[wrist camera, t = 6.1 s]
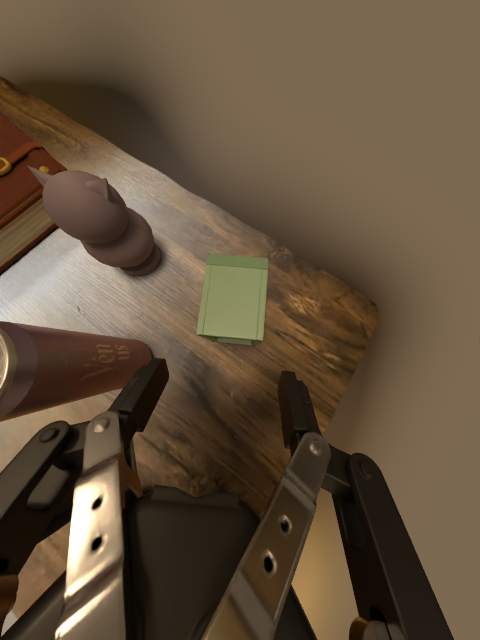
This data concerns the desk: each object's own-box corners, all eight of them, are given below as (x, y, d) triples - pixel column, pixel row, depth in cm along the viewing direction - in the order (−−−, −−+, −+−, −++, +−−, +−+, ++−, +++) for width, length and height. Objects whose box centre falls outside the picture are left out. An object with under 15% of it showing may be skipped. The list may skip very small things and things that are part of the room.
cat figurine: (104, 275, 26) (-8, 210, 14) (121, 230, 28) (33, 138, 16) (158, 285, 26) (89, 227, 14) (173, 239, 27) (121, 152, 15)
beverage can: (108, 345, 24) (-100, 330, 9) (151, 335, 24) (13, 307, 10) (112, 389, 23) (-120, 452, 8) (156, 379, 23) (10, 421, 8)
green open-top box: (255, 345, 24) (263, 340, 15) (212, 341, 24) (195, 334, 15) (259, 291, 25) (268, 258, 17) (219, 288, 26) (207, 252, 17)
